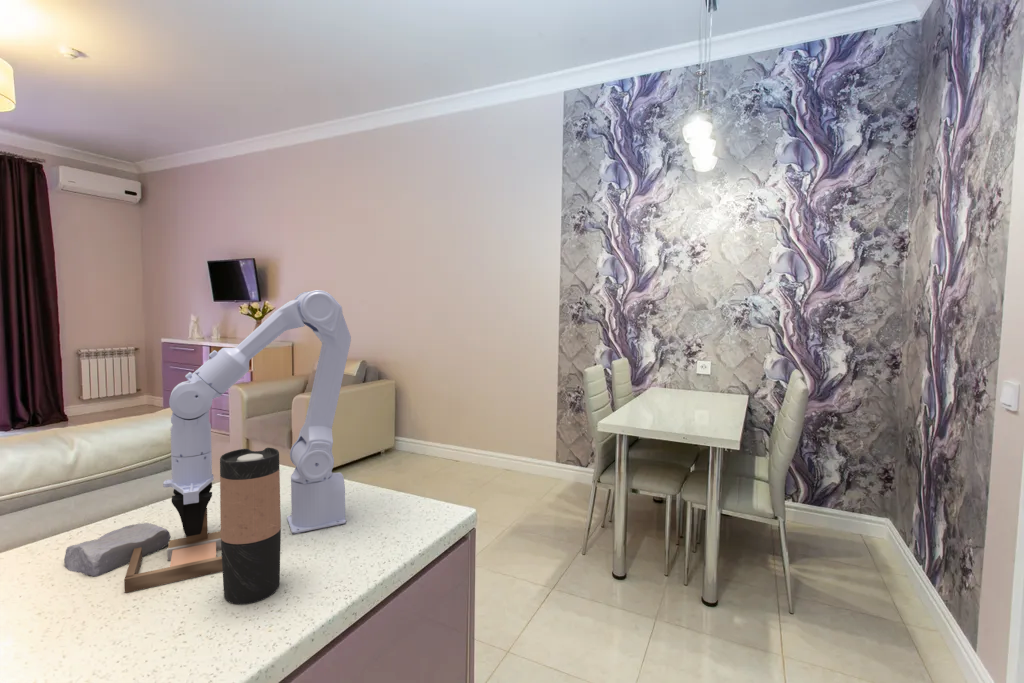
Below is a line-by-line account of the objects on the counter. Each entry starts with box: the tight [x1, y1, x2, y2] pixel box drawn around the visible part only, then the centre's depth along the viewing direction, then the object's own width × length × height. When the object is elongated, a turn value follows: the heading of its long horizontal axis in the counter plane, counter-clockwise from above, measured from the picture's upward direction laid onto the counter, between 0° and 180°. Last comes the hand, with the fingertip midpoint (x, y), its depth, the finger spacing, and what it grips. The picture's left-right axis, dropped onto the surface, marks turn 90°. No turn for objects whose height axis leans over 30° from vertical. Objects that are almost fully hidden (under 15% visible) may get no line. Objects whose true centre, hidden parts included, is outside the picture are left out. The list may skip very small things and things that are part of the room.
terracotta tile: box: [169, 542, 217, 567], centre depth 79 cm, size 6×6×2 cm
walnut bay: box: [123, 547, 223, 594], centre depth 79 cm, size 16×10×2 cm, turn 121°
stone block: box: [63, 522, 171, 577], centre depth 81 cm, size 12×5×10 cm
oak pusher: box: [166, 507, 221, 561], centre depth 83 cm, size 8×5×6 cm, turn 121°
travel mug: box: [219, 447, 282, 605], centre depth 71 cm, size 8×8×20 cm
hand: (193, 531), depth 84 cm, fingers closed on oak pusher, 2 cm apart
